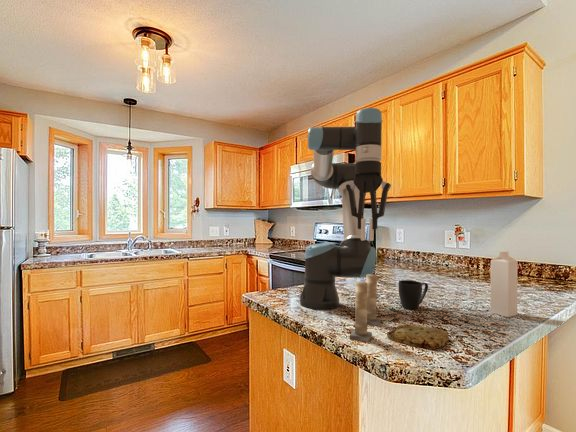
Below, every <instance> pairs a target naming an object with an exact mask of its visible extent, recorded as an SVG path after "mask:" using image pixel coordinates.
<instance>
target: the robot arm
mask: <svg viewBox="0 0 576 432" xmlns="http://www.w3.org/2000/svg"><path fill="white" fill-rule="evenodd" d="M382 124H383V118H382V111H381V110H380V109H379V108H377V107H376V108H375V107H365V108H361V109H359V110H357V112H356V114H355V126H316V127H315V126H314V127H310V128H309V129H307V130H308V131H307V147H308V150H310V151H313V159H312V160H313V162H312V163H313V164H312V165H311V168H310V175H311V177H312V179H313V180H314V182H315V183H316V184H317V185H319V186H321V187H323V188H325V189H326V188H327V189H329V190H330V189H331V190H332V189H333V190H334V189H336V190H337V191H338V193H339V195H341V205H342V224H343V225H342V228H343V240H342V241H341V242H340V244H339V245H340V246H337V245H336V243H335V242H323V243H314V244H310V245H307V246H306V248H305V253H304V259H305V260H304V261H305V262H304V285H303V288H302V291H301V294H300V296H299V304H300V305H301V306H303V307H305V308H308V309H315V310H316V309H318V310H328V309H335V308H338V307H339V306H340V297H339V293H338V289H337V286H336V278H352V279H353V278H354V279H362V278H363V279H366V275H368V274H373V275H374V272H375V267H376V260H377V259H376V258H377V257H376V256H377V250H376V248H375V247H374V246H371V242H372V241H375V240H374V239H375V237H374V234H375V230H378V219H380V218H381V217H384V216H385V212H386V211H385V210H386V205H387V198H388V193H389V191H390V189H391V187H392V184H391V183H390V182H386V181H384V179H383V177H382V162H381V161H382V136H383V135H382V133H383V132H382V128H383V126H382ZM349 150H350V151H355V161H356V162H353V163H352V162H351V163H350V162H349V163H348V162H346V163H345V162H343V163H342V162H337V163H336V162H335V163H334V162H333V161H334V154H335V151H349ZM380 186H381V189H382V191H381V197H380V203H379V209H378V204H377V203H378V202H377V191H378V190H379V188H380ZM367 193H369V195H370V206H371V218H369V224H368V225H369V228H368V229H369V230H368V231H369V232H368V233H369V236H368V237H369V239H367V237H366V232H367V231H366V227H367V225H366V223H367V222H366V221H367V218H365V217H364V213H365V203H366V195H367Z"/></svg>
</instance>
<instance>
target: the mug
mask: <svg viewBox="0 0 576 432" xmlns="http://www.w3.org/2000/svg"><path fill="white" fill-rule="evenodd" d="M423 285H424V289H423ZM428 290H429V285H428V283H427V282H421V281H417V280H405V279H403V280H398V296H399V300H400V303H401V308H403V309H405V310H412V311H416V310H418V309H419V306H420V305H421V304H422V302H423V300H424V298H425V296H426V295H427V292H428Z"/></svg>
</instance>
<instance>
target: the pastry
mask: <svg viewBox="0 0 576 432" xmlns="http://www.w3.org/2000/svg"><path fill="white" fill-rule="evenodd" d="M386 337H387V339H388V340H390V341H393V342H396V343H402V344H404V345H407V346H411V347H416V348H426V350H431V351H432V350H435V349H439V348H441V347H444V346H445V345H446V343H447V342H448V341H449V340H450V335H449V334H448V332H446V331H444V330H442V329H439V328H437V327H436V328H435V327H431V326H425V325H415V324H407V323H406V324H400V325H398V326H396V327H394V328H393V329H392V330H390V331H388V332H387V333H386Z"/></svg>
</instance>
